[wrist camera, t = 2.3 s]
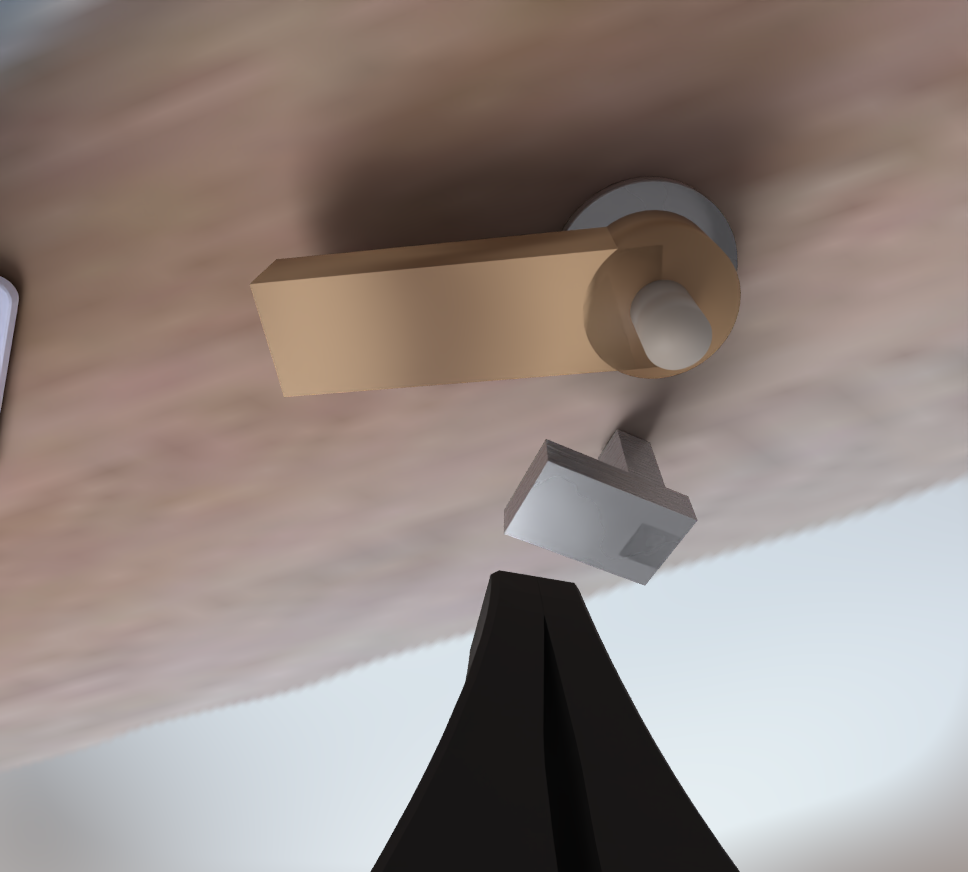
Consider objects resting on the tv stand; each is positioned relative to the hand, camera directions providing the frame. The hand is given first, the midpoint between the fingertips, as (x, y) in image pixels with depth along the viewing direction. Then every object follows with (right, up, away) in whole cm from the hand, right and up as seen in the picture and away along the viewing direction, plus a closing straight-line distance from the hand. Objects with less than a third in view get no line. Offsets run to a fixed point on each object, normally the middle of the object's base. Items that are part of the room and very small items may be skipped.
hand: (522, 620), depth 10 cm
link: (0, +7, +7) cm, 9 cm away
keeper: (+2, +3, +10) cm, 11 cm away
